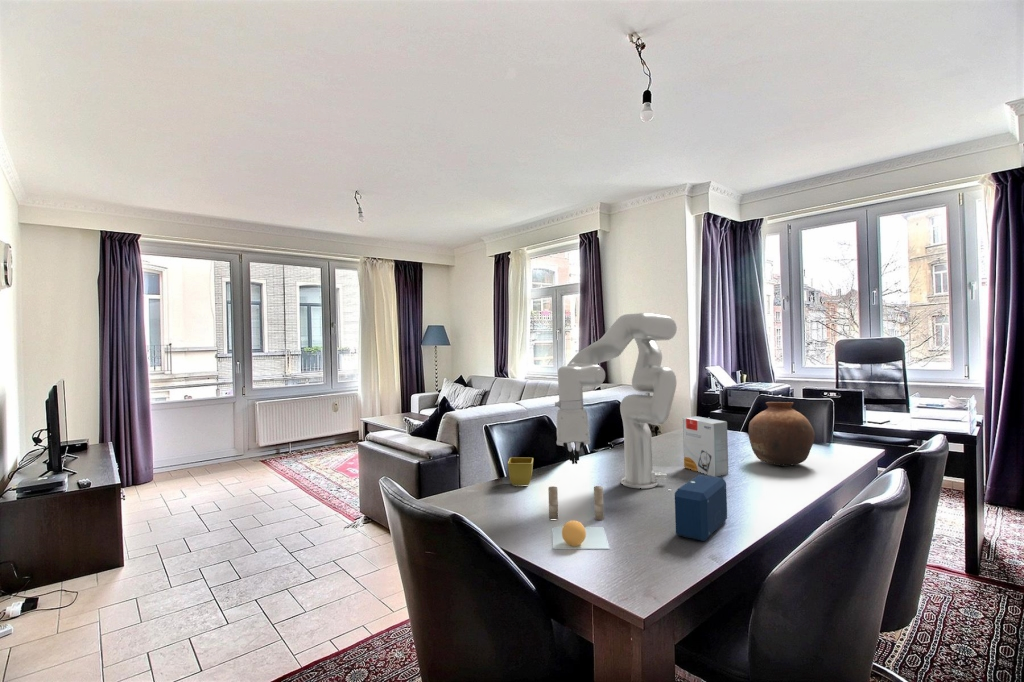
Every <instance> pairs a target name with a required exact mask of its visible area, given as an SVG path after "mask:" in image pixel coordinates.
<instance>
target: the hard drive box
mask: <svg viewBox="0 0 1024 682" xmlns="http://www.w3.org/2000/svg"><path fill="white" fill-rule="evenodd" d="M682 427H683V428H682V429H683V430H682V433H683V434H682V435H683V436H682V437H683V441H682V442H683V466H684V467H685V469H687V470H690V469H691V471H693V472H694V471H695V472H697V471H698V472H697V473H700V472H701V474H703V473H704V474H703V475H706V474H707V469H708V476H712V477H713V476H714V477H716V476H717V477H721V475H722V476H726V474H727V475H729V449H728V448H729V447H728V446H729V445H728V440H729V439H728V422H727V421H726V420H719V419H713V418H708V417H702V416H699V415H698V416H697V415H695V416H686V417H683V418H682ZM706 451H707V460H706ZM684 467H683V468H684Z"/></svg>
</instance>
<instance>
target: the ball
mask: <svg viewBox="0 0 1024 682" xmlns="http://www.w3.org/2000/svg"><path fill="white" fill-rule="evenodd" d="M562 527H563V529H562V537H563V539H564V541H565V542H566V543H567V544H569V545H571V546H578V545H580V544H581V543H582V542H583V541H584V540H585V537H586V531H585V528H584V527H585V526H584V524H582V522H580V521H577V520H569V521H567V522H565V524H564V525H563V526H562Z"/></svg>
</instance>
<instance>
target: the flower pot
mask: <svg viewBox="0 0 1024 682" xmlns="http://www.w3.org/2000/svg"><path fill="white" fill-rule="evenodd" d="M533 466H534V457H509V459H508V461H507V469H508V476H509V479H510V482H511V485H512V486H513V485H528V486H529V485H530V483H531V479H532V476H533V468H534V467H533Z"/></svg>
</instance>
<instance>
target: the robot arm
mask: <svg viewBox="0 0 1024 682" xmlns="http://www.w3.org/2000/svg"><path fill="white" fill-rule="evenodd" d="M677 328H678V327H677V324H676V321H675V320H674V319H673V318H672V317H670V316H668V315H661V314H656V313H648V312H639V313H637V312H636V313H626V314H623V315H620V316H619V317H618V318H617V319H616V320H615V321H614V322H613V323H612V325H611V326H610V327H609V328H608V329H607V330H606V332H605V333H604V334H603V336H601V338H600V339H598V340H597V341H595V342H592V343H591V344H590V345H588V346H586V347H585V348H583V349H582V350H580V351H579V352H577V353H576V354H575V355H574V356H573V358H572V359H571V360H570V361H569V362H568V364H567V365H566V366H561V367H559V368H558V369H557V382H558V383H557V385H558V387H557V388H558V398H559V399H558V401H557V402H556V401H555V402H554V407H557V408H558V409H557V411H556V412H557V413H556V445H557V446H562V447H564V448H565V449H566V450H568V452H569V453H568V454H569V461H570V462H571V464H572V465H574V464H575V465H577V464H578V461H580V450H581V448H583V447H584V446H587V445H589V444H591V443H592V442H591V439H590V437H591V436H590V424H589V417H588V412H587V409H586V408H584V394H583V388H597V387H599V386H601V385H602V384H603V382H604V381H605V380H606V372H605V370H604V368H603V367H602V366H601V365H599V364H600V363H604V362H609V361H611V360H614V359H616V358H618V357H619V356H620V355H621V354H622V353H623V352H624V351H625V350H626V348H627V347H628V345H629V344H631V342H632V341H633V339H634V341H635V343H636V346H637V349H638V353H637V359H636V362H635V363H636V364H635V367H634V370H633V373H632V378H631V385H632V386H631V387H632V388H633V390H635V391H636V392H639V393H645V394H636V393H634V394H628V395H626V396H624V397H623V398H622V400H621V402H620V406H619V410H620V415H621V419H622V426H623V442H624V443H623V444H624V446H623V447H624V470H625V471H624V473H625V474H624V477H622V478H621V480H620V484H623V485H622V486H624V487H627V488H631V489H640V488H641V489H652V488H655V487H656V486H658V483H659V482H658V480H667V478H668V475H667V473H662V472H655V471H654V469H653V445H652V444H653V441H652V440H653V439H652V437H653V436H652V431H651V429H650V426H649V424H650V425H651V424H652V425H662V424H664V423H665V422H667V420H668V418H670V417H669V416H670V413H671V409H672V405H673V401H674V398H675V393H676V389H677V375H676V374H675V372H674V371H673V369H672V368H669V367H666V366H661V365H662V361H663V352H662V350H661V348H660V346H659V345H658V343H657V341H670V340H671V339H673V338H674V337H675V336H676V333H677ZM646 394H652V395H646ZM572 443H575V447H574V448H573V447H572Z"/></svg>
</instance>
